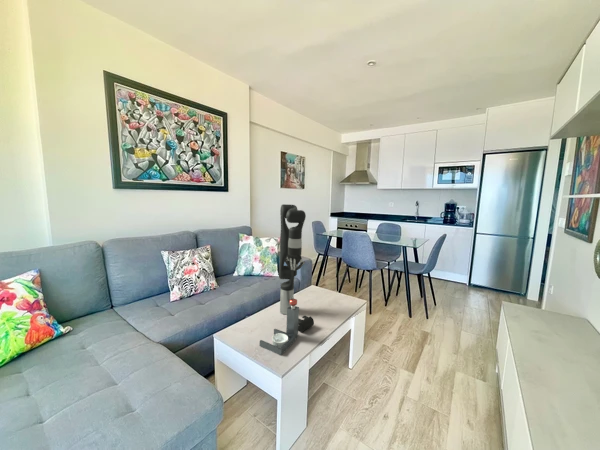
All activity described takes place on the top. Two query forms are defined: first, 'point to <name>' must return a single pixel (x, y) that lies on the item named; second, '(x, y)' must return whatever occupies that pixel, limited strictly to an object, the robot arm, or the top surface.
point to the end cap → (305, 323)
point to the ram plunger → (293, 303)
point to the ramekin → (279, 339)
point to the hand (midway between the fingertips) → (293, 276)
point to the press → (290, 332)
